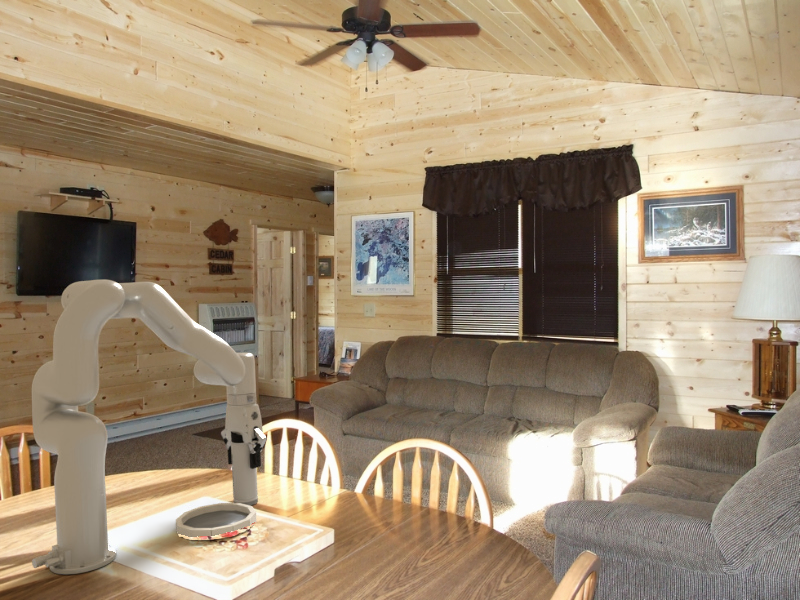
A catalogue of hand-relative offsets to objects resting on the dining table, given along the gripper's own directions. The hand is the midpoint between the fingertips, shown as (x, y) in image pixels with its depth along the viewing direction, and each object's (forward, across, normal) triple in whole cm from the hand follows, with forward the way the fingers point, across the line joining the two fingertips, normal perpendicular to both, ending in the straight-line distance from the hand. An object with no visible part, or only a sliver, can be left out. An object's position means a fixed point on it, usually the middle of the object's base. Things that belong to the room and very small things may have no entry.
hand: (244, 465), depth 167 cm
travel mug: (+10, 0, 0) cm, 10 cm away
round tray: (+10, -7, +15) cm, 19 cm away
